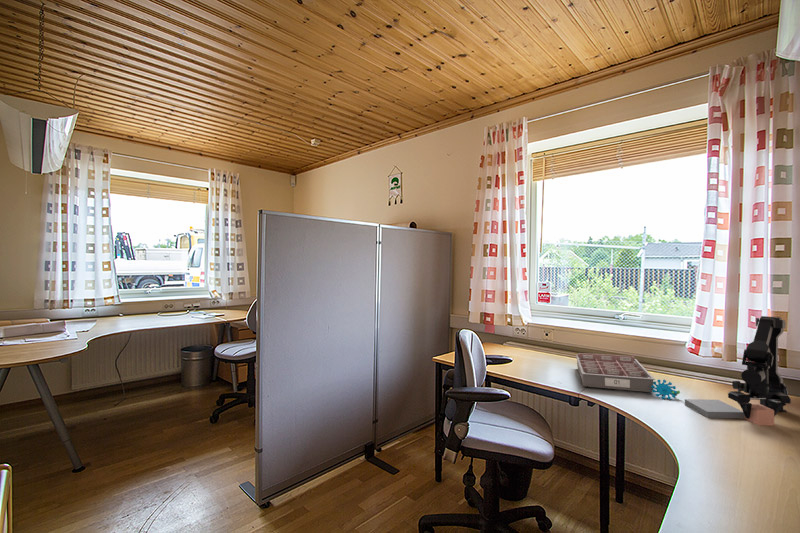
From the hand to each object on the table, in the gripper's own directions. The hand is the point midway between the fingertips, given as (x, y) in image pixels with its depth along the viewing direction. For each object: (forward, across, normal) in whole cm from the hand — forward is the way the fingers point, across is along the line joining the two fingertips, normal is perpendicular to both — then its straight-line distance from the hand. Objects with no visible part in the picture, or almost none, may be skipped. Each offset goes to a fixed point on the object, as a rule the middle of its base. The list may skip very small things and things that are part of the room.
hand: (759, 418), depth 146 cm
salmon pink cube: (+1, 0, 0) cm, 1 cm away
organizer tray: (+2, +33, -52) cm, 62 cm away
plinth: (+1, +10, -10) cm, 14 cm away
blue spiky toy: (+2, +20, -26) cm, 33 cm away
